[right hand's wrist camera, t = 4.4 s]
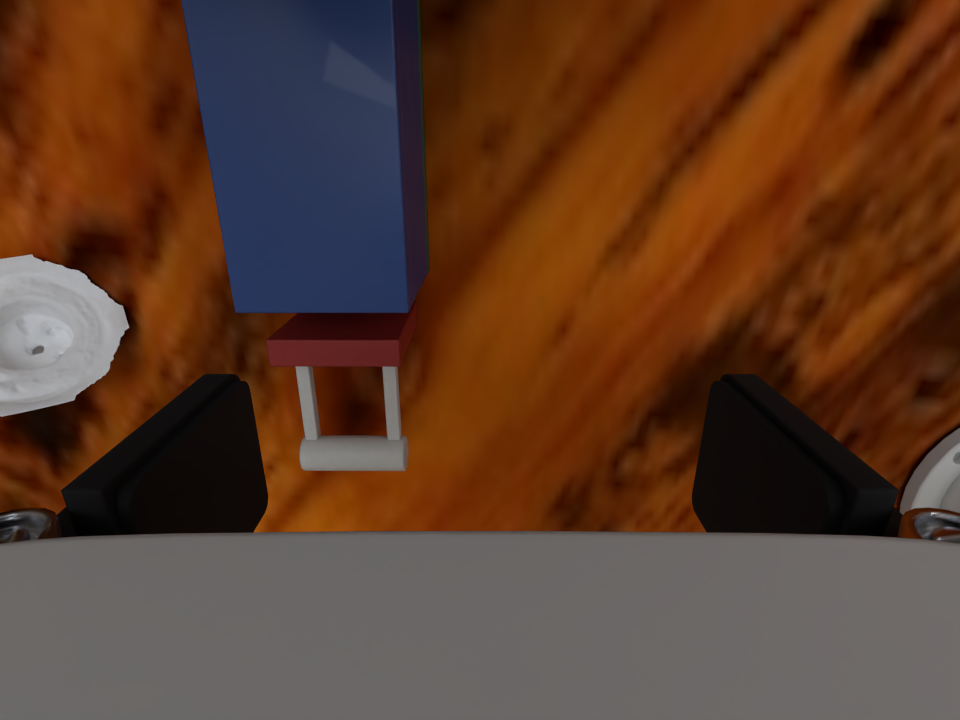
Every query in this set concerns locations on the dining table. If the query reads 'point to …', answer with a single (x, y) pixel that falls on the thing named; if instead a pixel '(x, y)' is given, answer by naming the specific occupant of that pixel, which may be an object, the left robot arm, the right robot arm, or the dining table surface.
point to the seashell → (52, 333)
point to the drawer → (347, 346)
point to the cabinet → (315, 150)
